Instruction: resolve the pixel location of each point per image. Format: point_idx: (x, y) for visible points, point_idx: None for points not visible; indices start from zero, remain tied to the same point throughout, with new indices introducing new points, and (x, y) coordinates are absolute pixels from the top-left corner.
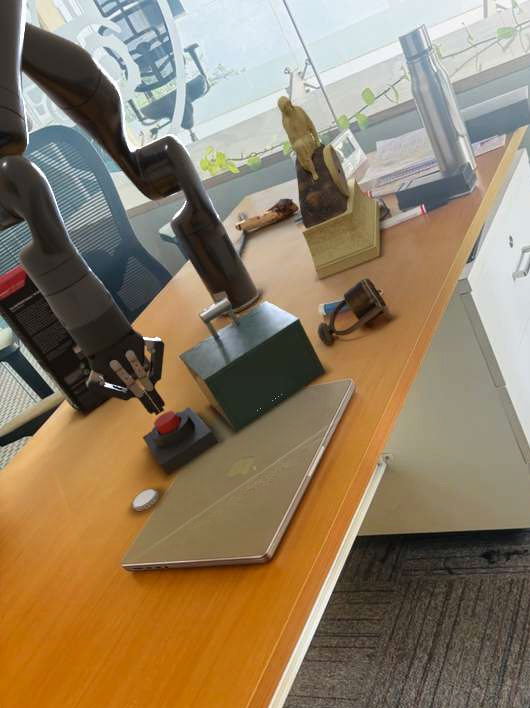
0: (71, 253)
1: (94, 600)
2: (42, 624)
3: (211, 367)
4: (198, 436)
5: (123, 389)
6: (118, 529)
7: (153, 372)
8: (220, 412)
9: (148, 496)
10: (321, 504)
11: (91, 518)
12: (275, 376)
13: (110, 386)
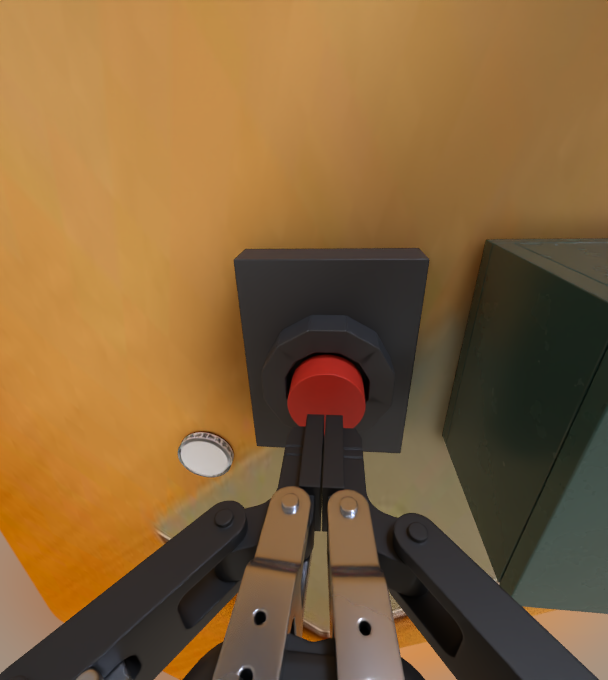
0: None
1: (118, 548)
2: (41, 528)
3: (585, 578)
4: (368, 440)
5: (232, 559)
6: (148, 465)
7: (410, 619)
8: (466, 380)
9: (213, 460)
10: (411, 633)
11: (81, 387)
12: None
13: (168, 639)
